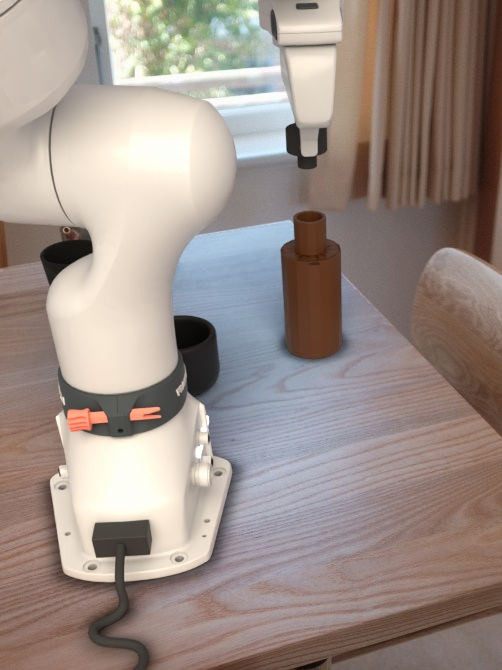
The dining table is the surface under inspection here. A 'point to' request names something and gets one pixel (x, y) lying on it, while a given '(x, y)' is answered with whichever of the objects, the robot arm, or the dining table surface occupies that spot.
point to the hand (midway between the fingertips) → (306, 145)
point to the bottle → (312, 289)
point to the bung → (294, 146)
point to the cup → (63, 256)
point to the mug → (197, 351)
